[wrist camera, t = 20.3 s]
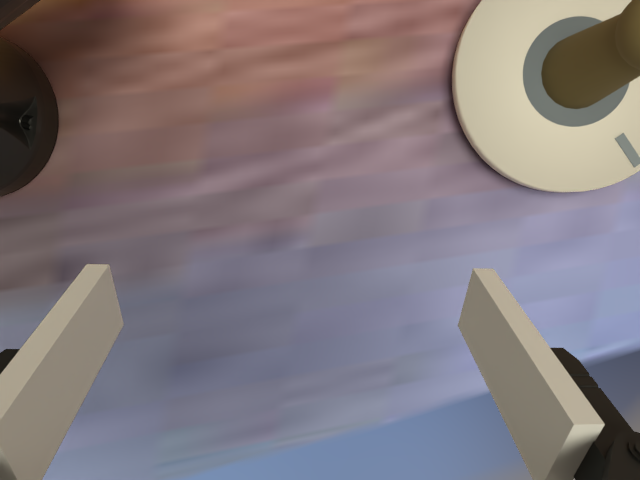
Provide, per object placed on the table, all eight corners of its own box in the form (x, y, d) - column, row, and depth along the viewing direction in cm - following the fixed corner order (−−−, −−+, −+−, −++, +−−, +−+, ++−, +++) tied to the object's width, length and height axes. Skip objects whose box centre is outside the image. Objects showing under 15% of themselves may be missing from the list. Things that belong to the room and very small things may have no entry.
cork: (622, 94, 36) (753, 46, 25) (553, 119, 36) (651, 82, 25) (602, 24, 35) (726, -57, 24) (532, 49, 36) (623, -19, 25)
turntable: (407, 52, 37) (410, 45, 36) (600, -92, 36) (613, -106, 34) (534, 236, 38) (543, 238, 37) (726, 103, 37) (743, 98, 36)
